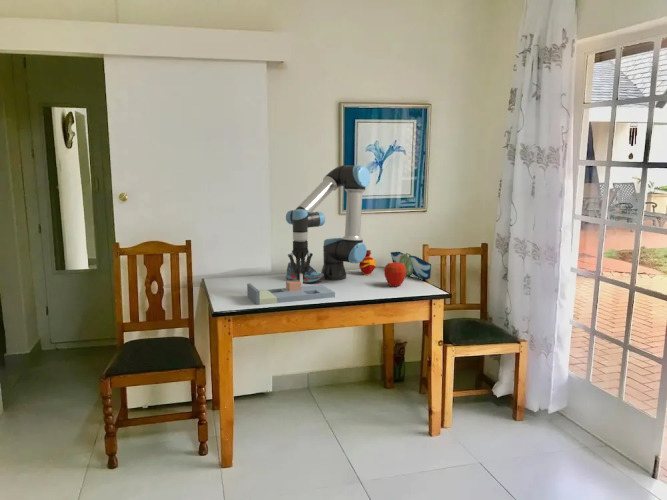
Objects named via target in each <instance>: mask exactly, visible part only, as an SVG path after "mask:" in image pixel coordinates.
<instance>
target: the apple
mask: <svg viewBox="0 0 667 500" xmlns="http://www.w3.org/2000/svg"><path fill="white" fill-rule="evenodd" d="M406 271H407V270H406V267H405V266H404V265H403V264H402V263H397V262H396V261H395V262H393V261H392V262H388V263H387V264H386V265H385V267H384V271H383V272H384V277H385V280H386V282H387V284H389V286H391V287H395V288H396V287H399V286H401V285H402V284H404V281H405V279H406V277H407V276H406Z"/></svg>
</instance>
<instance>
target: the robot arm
mask: <svg viewBox="0 0 667 500" xmlns="http://www.w3.org/2000/svg"><path fill="white" fill-rule="evenodd" d="M370 183H371V173H370V171H369V169H368V168H367V166H364V165H361V164H353V165H346V164H345V165H344V164H343V165H339V166H337V167H335V168H334V169H332V170H330V171H329V172H328V173H327V174H326V175H325V176H324V177H323V178H322V181H321V182H320V184H319V185H318V186H317V187H316V188H315V189H314V190H313V191H312V192H311V193H310V194H308V196H307V197H306V198H305V199H304V200H303V201H302V202H301V203H300V204H299V205H298V206H297V207H296V208H295V209H292V210H288V211H287V212H286V214H285V221H286V223H287V224H289V225H292V240H293V241H292V251H291V253H288V254H287V257H288V258H289V260H290V261H289V262H291V266H292V270H293V272H294V273H296V274H297V280H298V281H299V282H301V287H303V286H304V283H303V280H304V279H305V272H308V269H309V265H310V264H311V259H312V257H313V254H314V253H312V252H310V251H309V246H308V245H309V243H308V238H309V237H308V235H309V233H308V232H309V228H315V227H316V228H317V227H322V226H323V225H324V224H325V222H326V216H325V214H324V213H323V212H321V211H315V210H316V208H317V207H318V206H320V204H321V203H322V202H323V201H325V199H326V198H327V197H329V196H330V194H331V193H332V192H334V191H336V190H338V188H340V187H344V188H343V189H344V191H345V192H346V205H345V207H346V208H345V224H344V225H345V229H344V236H343V237H334V238H333V237H331V238H326V239H324V240H323V246H322V247H323V254H322V255H323V264H322V268H321V271H320V273H323V274H324V279H323V280H330V281H335V280H336V281H337V280H345V279H347V271H346V268H345V265H344V263H345V262H346V263H351V264H360V262H361V261H362V260H363V259H364V258H365V256H366V252H367V250H368V249H367V246H366V245H365V243H364V240H363V238H362V236H361V227H362V226H361V225H362V209H363V208H362V206H363V193H364V192H365V191H366V188H367V187H369V184H370ZM314 211H315V212H314ZM294 258H295V259H294ZM300 261H301V273H300ZM294 262H295V263H296V267H295V263H294ZM305 262H306V265H305ZM310 266H311V265H310Z"/></svg>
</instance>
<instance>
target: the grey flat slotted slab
mask: <svg viewBox="0 0 667 500" xmlns="http://www.w3.org/2000/svg"><path fill="white" fill-rule="evenodd" d="M246 285H247V286H246V289H247V290H246V291H247V292H246V293H247V297H248V299H250V300H251V301H252V302H253V303H254V304H255V305H260V306H261V305H268V304H269V305H270V304H278V303H287V302H288V303H289V302H299V301H309V300H318V299H328V298H335V297H336V291H334V290H332V289H330V288H328V287H327V286H325V285H323V284H317V285H305V286H304V285H303V286H301V290H298V291H289V290H287V289H286V287H283V288H281V287H280V288H273V289H272V288H270V289H269V288H268V289H260V290H259V289H258V288H257V287H255V285H253V284H252V283H251V282H249V283H247V284H246Z"/></svg>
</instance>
